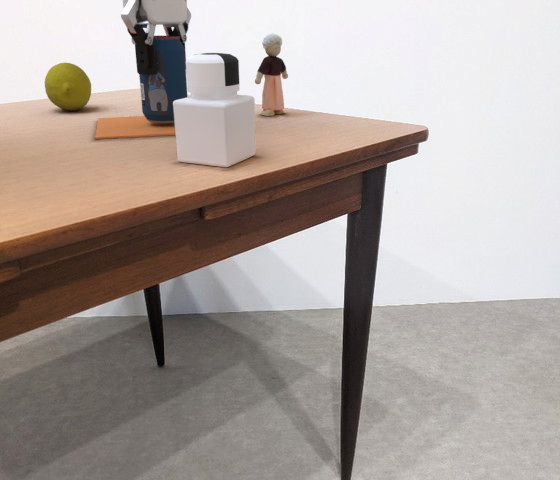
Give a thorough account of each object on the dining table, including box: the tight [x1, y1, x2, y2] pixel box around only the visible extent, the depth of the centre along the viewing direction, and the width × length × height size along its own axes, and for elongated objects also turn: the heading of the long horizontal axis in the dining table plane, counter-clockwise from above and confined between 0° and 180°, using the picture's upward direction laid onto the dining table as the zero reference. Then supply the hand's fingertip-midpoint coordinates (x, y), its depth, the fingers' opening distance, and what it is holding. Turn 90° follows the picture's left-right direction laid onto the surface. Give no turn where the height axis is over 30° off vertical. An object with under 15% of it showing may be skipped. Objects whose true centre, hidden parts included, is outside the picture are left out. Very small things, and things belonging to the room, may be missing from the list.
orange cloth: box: [94, 115, 175, 140], centre depth 94 cm, size 22×16×1 cm
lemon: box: [44, 62, 92, 112], centre depth 107 cm, size 11×8×8 cm
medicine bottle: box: [173, 52, 257, 168], centre depth 71 cm, size 7×7×12 cm
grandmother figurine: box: [254, 32, 289, 117], centre depth 100 cm, size 8×4×13 cm, turn 151°
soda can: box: [138, 35, 188, 123], centre depth 91 cm, size 7×7×12 cm
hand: (162, 71), depth 90 cm, fingers closed on soda can, 7 cm apart
